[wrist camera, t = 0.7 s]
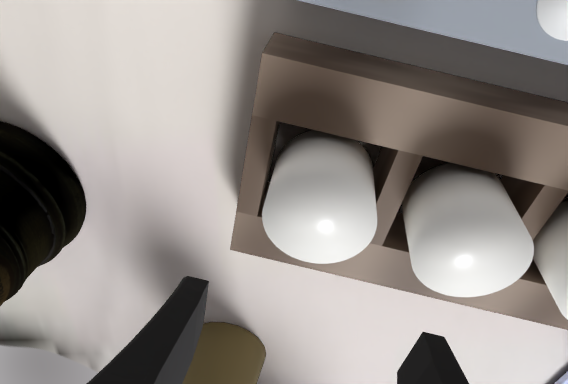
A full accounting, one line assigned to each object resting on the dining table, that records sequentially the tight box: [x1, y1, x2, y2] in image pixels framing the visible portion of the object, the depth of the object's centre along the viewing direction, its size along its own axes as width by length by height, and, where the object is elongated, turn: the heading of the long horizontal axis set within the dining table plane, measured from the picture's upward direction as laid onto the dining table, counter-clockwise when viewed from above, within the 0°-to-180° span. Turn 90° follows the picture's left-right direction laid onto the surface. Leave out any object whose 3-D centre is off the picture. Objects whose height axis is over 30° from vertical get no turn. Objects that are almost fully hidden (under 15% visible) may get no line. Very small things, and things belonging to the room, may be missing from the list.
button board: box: [230, 32, 568, 330], centre depth 19 cm, size 19×10×3 cm, turn 79°
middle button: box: [402, 163, 534, 297], centre depth 17 cm, size 4×4×4 cm
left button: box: [262, 130, 377, 264], centre depth 17 cm, size 4×4×4 cm
